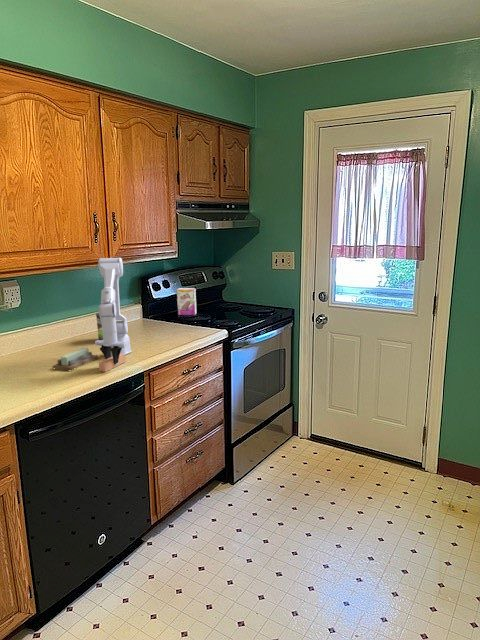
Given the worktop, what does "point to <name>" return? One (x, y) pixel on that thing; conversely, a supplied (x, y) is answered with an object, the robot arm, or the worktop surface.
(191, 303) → the candy bar box
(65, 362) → the block
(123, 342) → the robot arm
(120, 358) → the bar
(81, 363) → the cradle
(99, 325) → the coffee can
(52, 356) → the worktop surface
